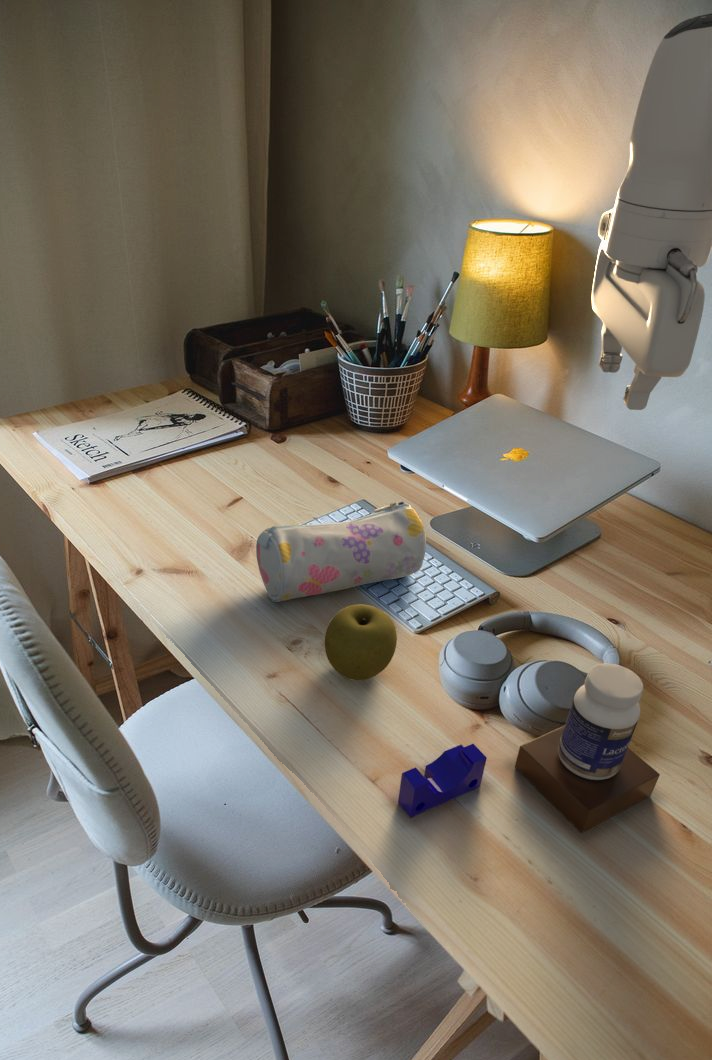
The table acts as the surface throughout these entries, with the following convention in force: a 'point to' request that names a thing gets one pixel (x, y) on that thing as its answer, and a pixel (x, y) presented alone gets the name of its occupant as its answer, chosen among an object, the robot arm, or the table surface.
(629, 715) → the pill bottle
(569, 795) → the block
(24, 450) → the table surface
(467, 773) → the cable holder
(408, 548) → the pencil case
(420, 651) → the table surface
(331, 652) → the apple
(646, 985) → the table surface
